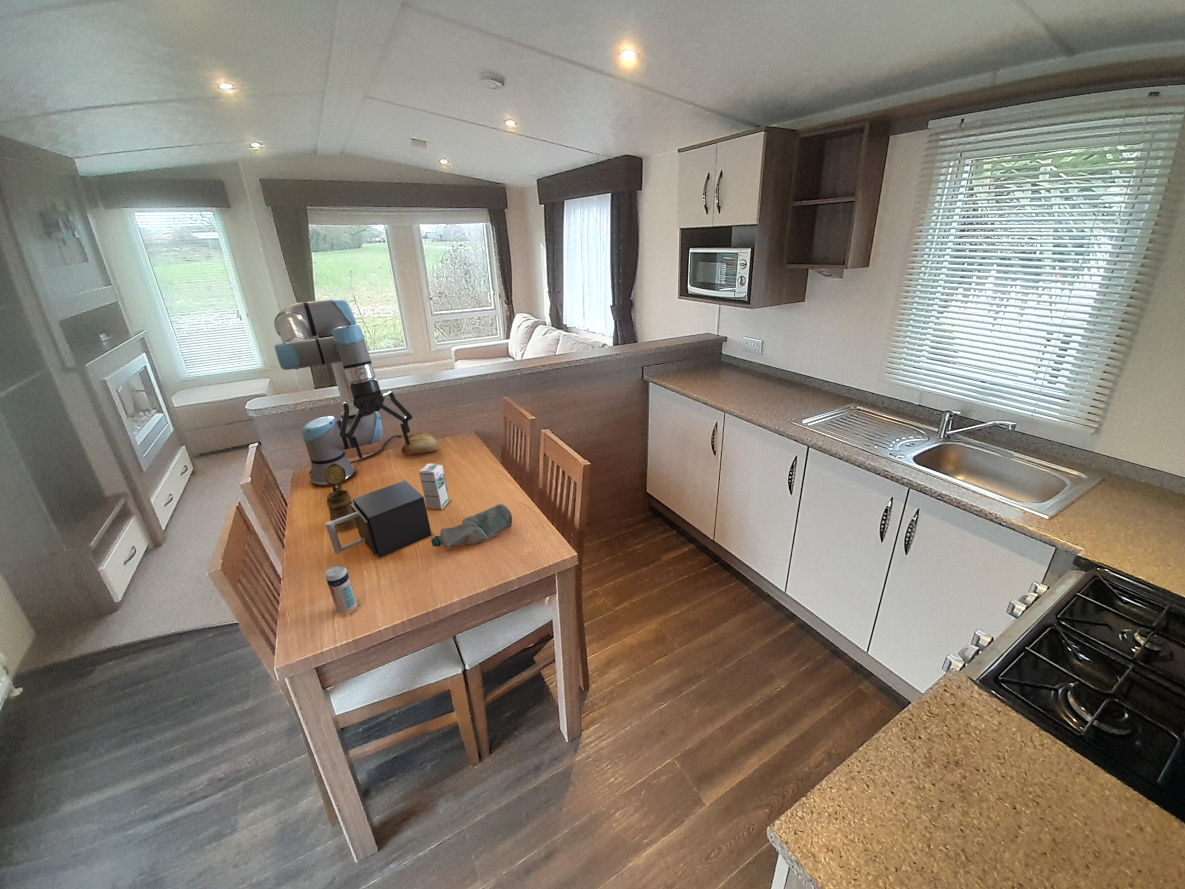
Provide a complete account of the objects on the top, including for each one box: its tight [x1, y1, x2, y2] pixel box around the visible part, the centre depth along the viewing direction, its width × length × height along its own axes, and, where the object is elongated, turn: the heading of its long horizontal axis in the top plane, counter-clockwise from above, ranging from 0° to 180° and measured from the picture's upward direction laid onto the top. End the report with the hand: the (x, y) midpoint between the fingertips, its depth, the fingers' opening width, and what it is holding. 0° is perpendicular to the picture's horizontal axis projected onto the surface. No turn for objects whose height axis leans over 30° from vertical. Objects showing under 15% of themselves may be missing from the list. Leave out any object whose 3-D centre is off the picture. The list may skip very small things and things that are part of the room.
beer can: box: [324, 565, 358, 615], centre depth 117 cm, size 5×5×12 cm
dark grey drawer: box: [325, 503, 377, 556], centre depth 141 cm, size 24×13×12 cm, turn 131°
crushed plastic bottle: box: [430, 503, 513, 550], centre depth 144 cm, size 13×7×25 cm
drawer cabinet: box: [352, 480, 433, 559], centre depth 144 cm, size 16×14×14 cm
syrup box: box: [418, 463, 450, 510], centre depth 160 cm, size 6×6×14 cm
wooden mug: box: [325, 463, 357, 532], centre depth 153 cm, size 9×14×18 cm, turn 23°
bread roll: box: [400, 432, 440, 456], centre depth 200 cm, size 10×15×8 cm, turn 112°
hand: (385, 450), depth 142 cm, fingers open, 13 cm apart
